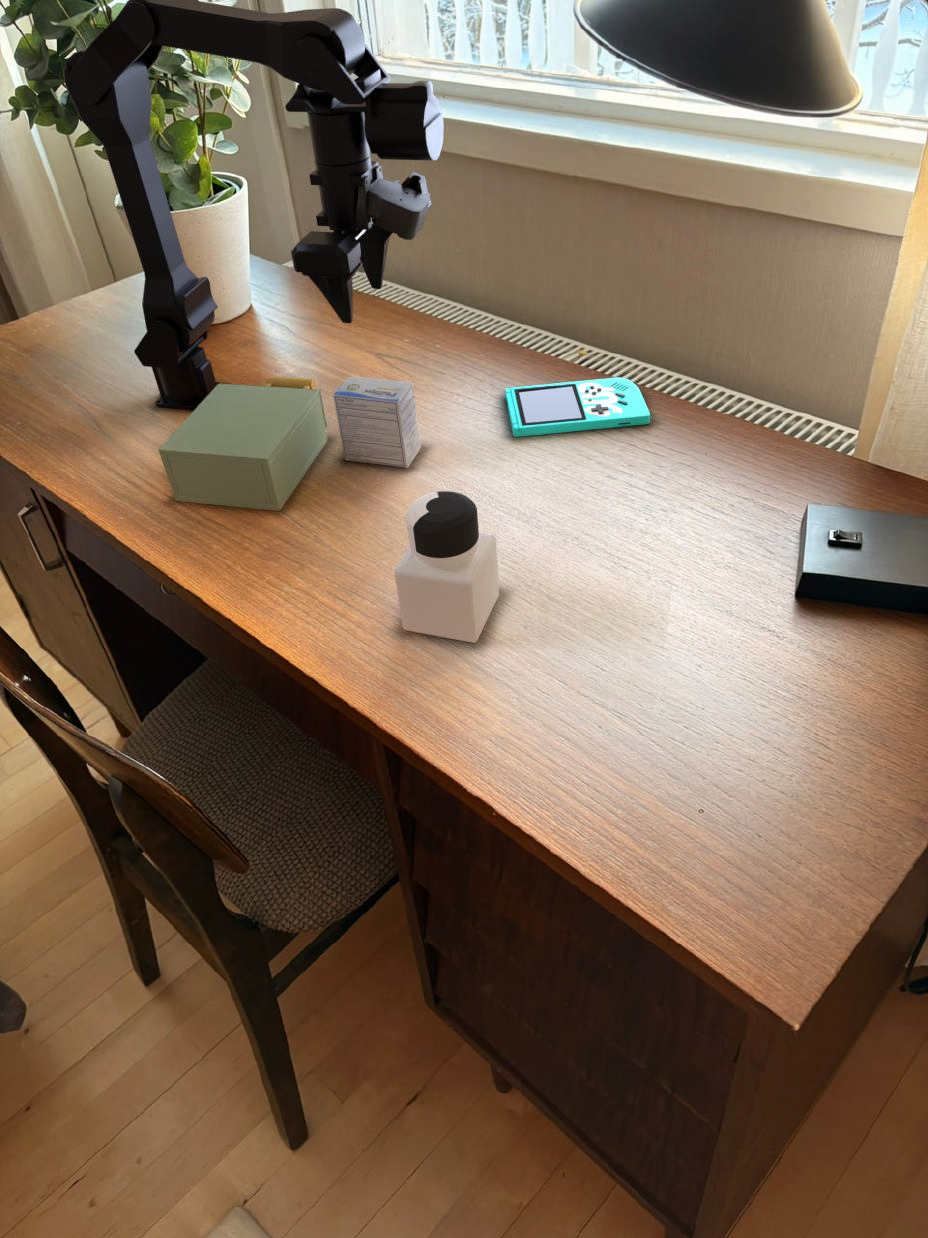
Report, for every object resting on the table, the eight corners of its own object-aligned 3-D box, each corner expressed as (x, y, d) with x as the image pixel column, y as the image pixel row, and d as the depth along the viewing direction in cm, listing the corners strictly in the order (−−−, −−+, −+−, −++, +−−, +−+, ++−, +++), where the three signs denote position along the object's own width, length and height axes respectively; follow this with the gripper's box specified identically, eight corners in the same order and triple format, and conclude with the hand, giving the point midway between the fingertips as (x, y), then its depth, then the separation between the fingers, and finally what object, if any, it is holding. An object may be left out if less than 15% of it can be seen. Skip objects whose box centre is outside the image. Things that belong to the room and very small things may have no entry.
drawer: (256, 400, 118) (247, 365, 115) (340, 406, 116) (334, 370, 113) (189, 480, 105) (177, 443, 102) (283, 489, 103) (274, 451, 100)
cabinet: (231, 432, 115) (218, 383, 110) (328, 440, 112) (318, 389, 107) (175, 500, 104) (158, 449, 100) (279, 511, 101) (266, 458, 97)
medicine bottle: (500, 594, 88) (494, 487, 80) (476, 645, 83) (467, 536, 75) (429, 582, 90) (416, 477, 82) (402, 631, 85) (385, 524, 78)
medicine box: (422, 449, 109) (414, 380, 103) (407, 470, 105) (398, 400, 100) (360, 441, 111) (348, 373, 105) (344, 461, 108) (331, 393, 102)
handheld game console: (650, 425, 109) (651, 414, 108) (513, 438, 109) (512, 428, 108) (633, 383, 116) (633, 373, 116) (504, 396, 116) (504, 386, 116)
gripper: (384, 190, 88) (402, 347, 98) (445, 132, 101) (454, 276, 111) (276, 186, 90) (304, 339, 101) (348, 130, 104) (367, 270, 114)
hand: (362, 304), depth 107 cm, fingers open, 9 cm apart
